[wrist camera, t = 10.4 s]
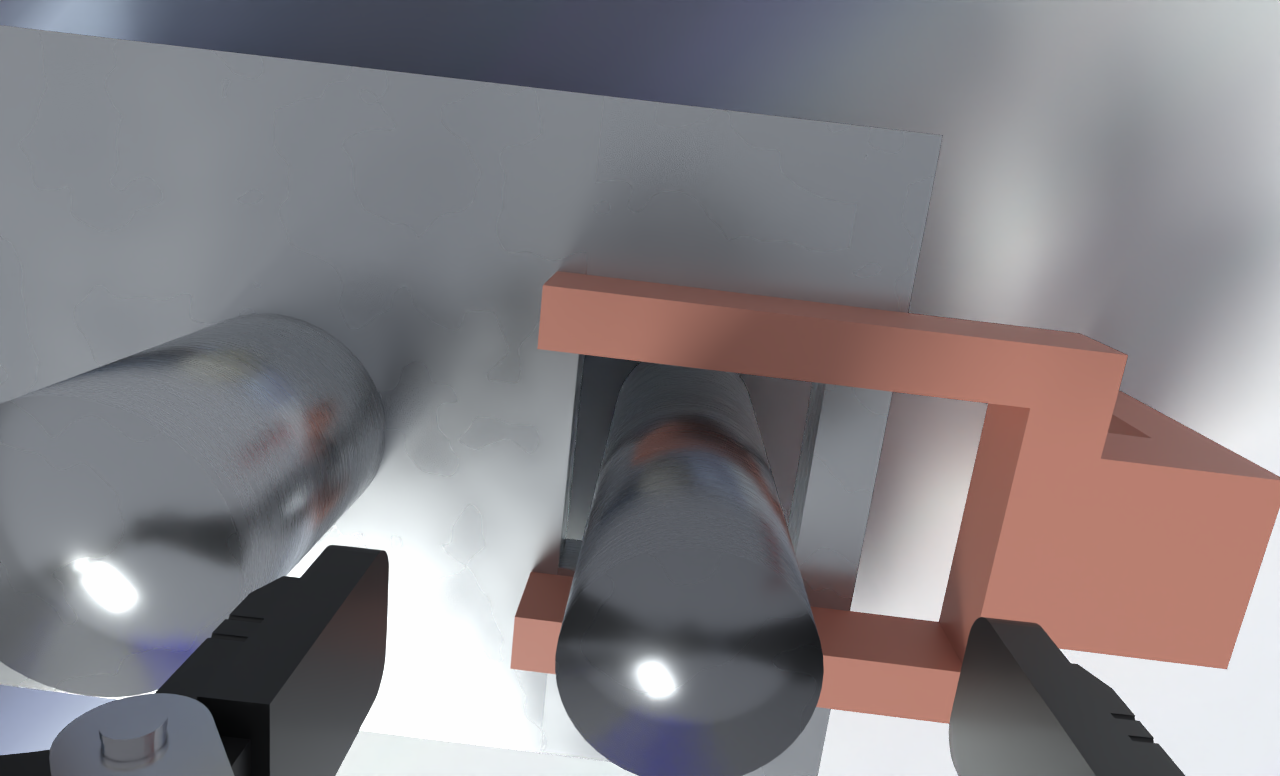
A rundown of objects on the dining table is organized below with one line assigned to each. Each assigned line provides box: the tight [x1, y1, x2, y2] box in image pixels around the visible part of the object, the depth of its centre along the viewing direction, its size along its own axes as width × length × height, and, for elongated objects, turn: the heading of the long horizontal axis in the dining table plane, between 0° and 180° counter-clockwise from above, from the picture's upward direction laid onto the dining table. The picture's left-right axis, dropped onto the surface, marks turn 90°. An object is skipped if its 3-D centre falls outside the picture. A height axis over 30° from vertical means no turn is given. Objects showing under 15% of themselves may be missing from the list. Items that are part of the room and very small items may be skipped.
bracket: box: [510, 271, 1280, 724], centre depth 20 cm, size 14×8×6 cm, turn 84°
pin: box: [555, 362, 824, 776], centre depth 18 cm, size 4×4×12 cm
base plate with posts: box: [0, 25, 943, 776], centre depth 18 cm, size 20×15×11 cm
